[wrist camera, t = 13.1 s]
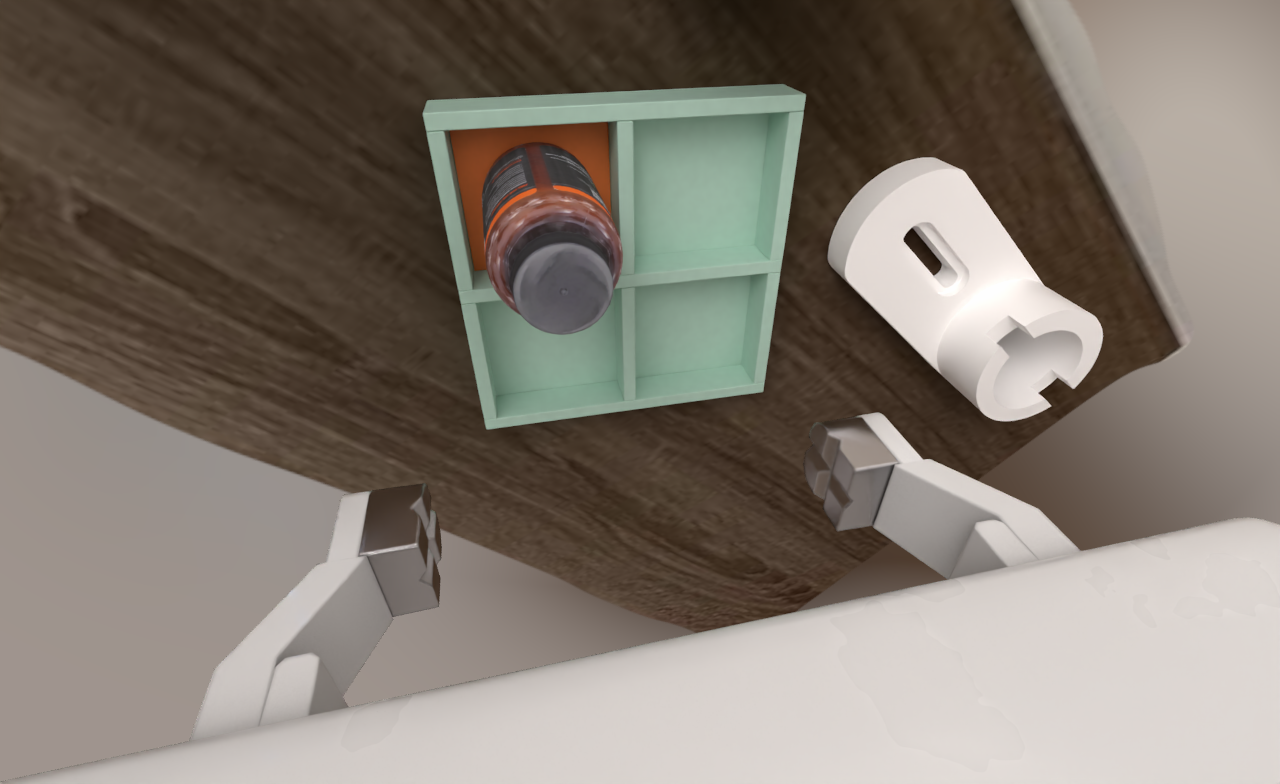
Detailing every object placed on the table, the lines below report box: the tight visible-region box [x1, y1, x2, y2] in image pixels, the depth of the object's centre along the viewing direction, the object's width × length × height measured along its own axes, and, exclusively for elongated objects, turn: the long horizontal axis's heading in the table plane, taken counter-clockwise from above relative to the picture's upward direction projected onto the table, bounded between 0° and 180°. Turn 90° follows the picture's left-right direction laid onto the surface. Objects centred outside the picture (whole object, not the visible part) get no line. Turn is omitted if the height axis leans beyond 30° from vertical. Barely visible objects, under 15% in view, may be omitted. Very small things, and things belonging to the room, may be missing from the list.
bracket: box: [828, 157, 1103, 421], centre depth 39 cm, size 20×9×7 cm, turn 48°
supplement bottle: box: [482, 142, 623, 335], centre depth 28 cm, size 6×6×11 cm
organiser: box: [423, 84, 806, 429], centre depth 35 cm, size 18×18×3 cm
